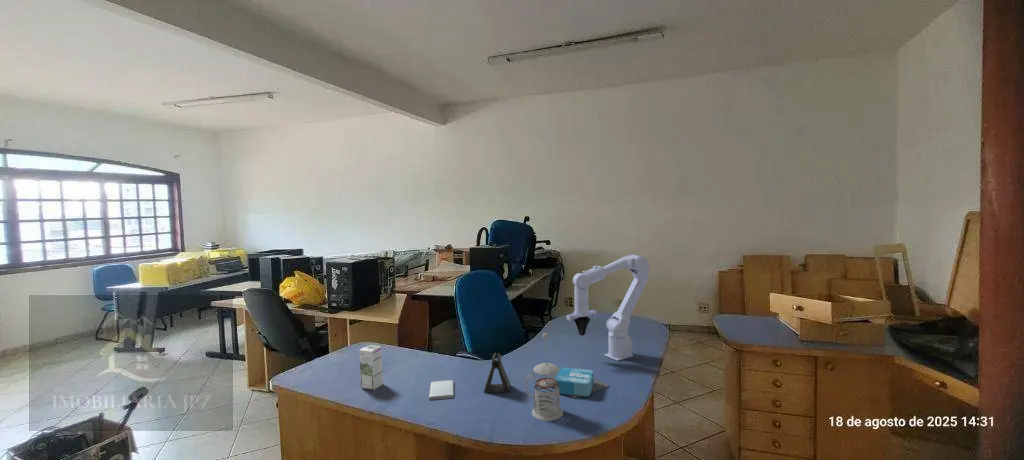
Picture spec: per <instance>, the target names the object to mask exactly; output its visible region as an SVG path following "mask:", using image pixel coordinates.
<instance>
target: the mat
mask: <svg viewBox="0 0 1024 460" xmlns="http://www.w3.org/2000/svg"><path fill="white" fill-rule="evenodd" d="M556 376H557V374H554V375H550V376H547V378H554V379H555V378H556ZM609 387H610V385H608V384H607V383H604V382H603V381H600V380H598V379H597V378H595V377H594V384H593V387H592V391H591V393H595V392H597V391H602V390H603V389H606V388H609ZM566 395H568V396H569V397H571V398H572V399H578V398H579V397H581V396H577V395H569V394H566Z"/></svg>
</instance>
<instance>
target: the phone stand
mask: <svg viewBox="0 0 1024 460" xmlns="http://www.w3.org/2000/svg"><path fill="white" fill-rule="evenodd" d="M496 355H497V356H496ZM495 369H497V370H498V373H499V377H500V381H501V383H498V384H497V383H496V384H495V383H493V384H492V381H493V376H494V373H495ZM510 390H511V382H510V380H509V378H508V375H507V372H506V369H505V367H504V365H503V362H502V354H501V353H500V352H498V353H496V352H494V354H493V355H492V359H491V367H490V370H489V372H488V375H487V379H486V382H485V385H484V390H483V394H495V393H499V394H500V393H501V394H503V393H504V394H506V393H511V391H510Z"/></svg>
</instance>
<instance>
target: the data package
mask: <svg viewBox="0 0 1024 460" xmlns="http://www.w3.org/2000/svg"><path fill="white" fill-rule="evenodd" d="M556 375H557V376H556V378H555V379H556V380H557V381H558V385H559V394H561V395H567V394H569V395H577V396H580V397H589V396H591V391H592V387H593V384H594V378H595V377H594V370H592V369H584V368H575V367H574V368H573V367H560V368H559V372H558V373H557V374H556ZM554 391H556V390H554ZM569 395H568V396H569Z"/></svg>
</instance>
